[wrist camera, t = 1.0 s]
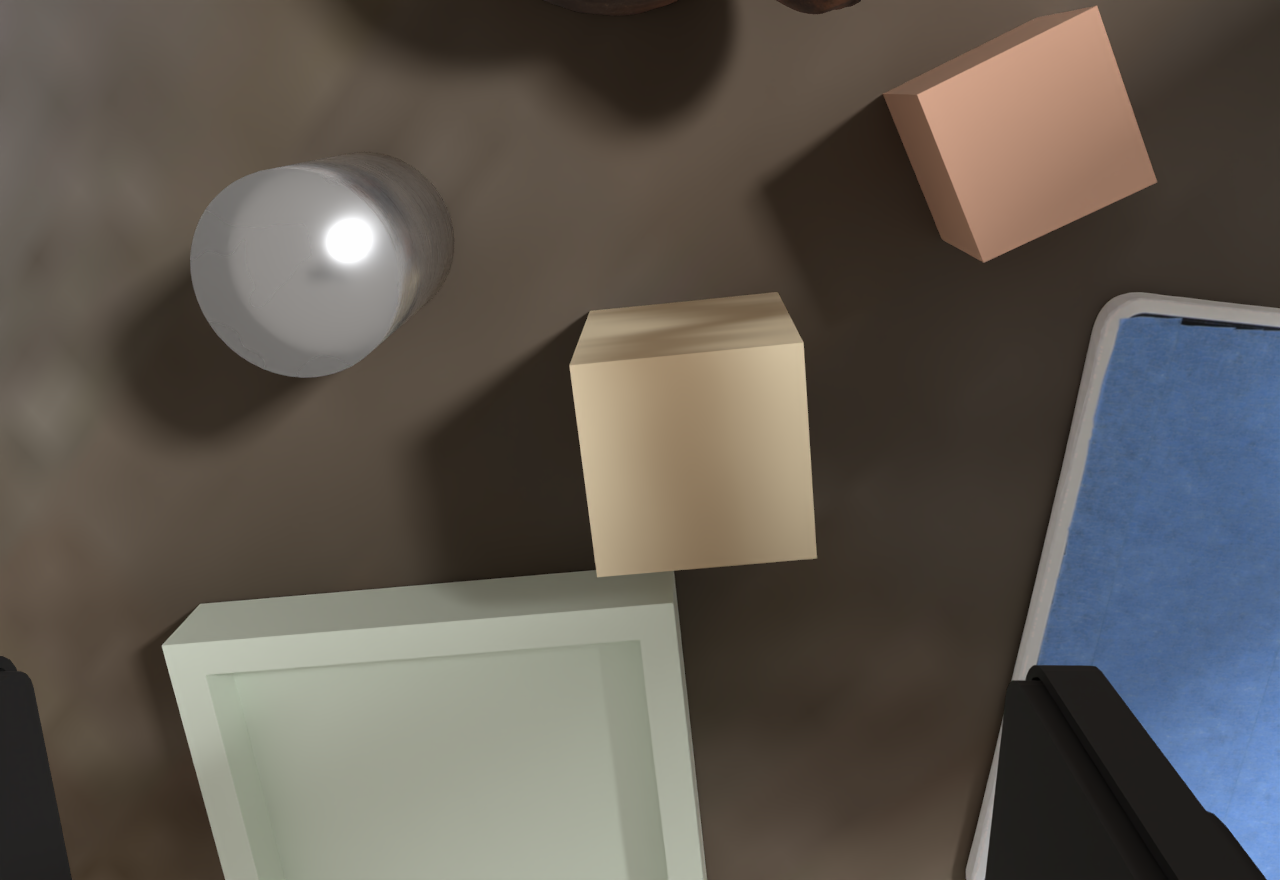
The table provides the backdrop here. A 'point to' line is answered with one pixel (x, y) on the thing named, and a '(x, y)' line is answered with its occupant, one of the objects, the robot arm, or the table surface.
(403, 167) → the grey canister
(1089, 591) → the tablet computer
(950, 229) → the terracotta cube
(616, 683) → the tray
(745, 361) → the beech block
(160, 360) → the table surface
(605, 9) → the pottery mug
